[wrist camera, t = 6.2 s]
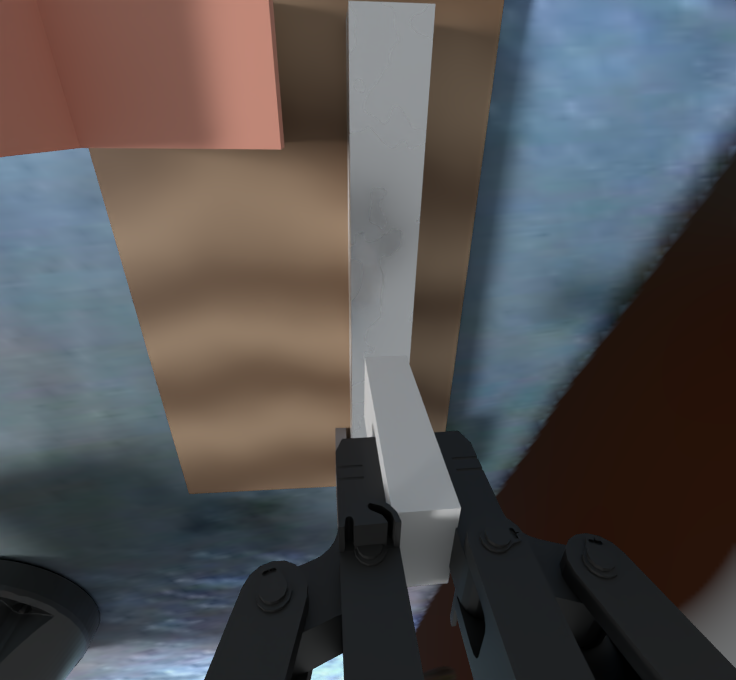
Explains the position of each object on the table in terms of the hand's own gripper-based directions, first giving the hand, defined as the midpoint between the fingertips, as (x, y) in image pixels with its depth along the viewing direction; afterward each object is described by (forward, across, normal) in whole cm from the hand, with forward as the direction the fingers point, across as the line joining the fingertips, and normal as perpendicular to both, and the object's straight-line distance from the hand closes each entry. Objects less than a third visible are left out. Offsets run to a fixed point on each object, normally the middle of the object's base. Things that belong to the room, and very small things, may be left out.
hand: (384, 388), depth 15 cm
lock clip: (+5, +7, -10) cm, 14 cm away
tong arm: (+7, -1, 0) cm, 7 cm away
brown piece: (+10, +3, 0) cm, 11 cm away
